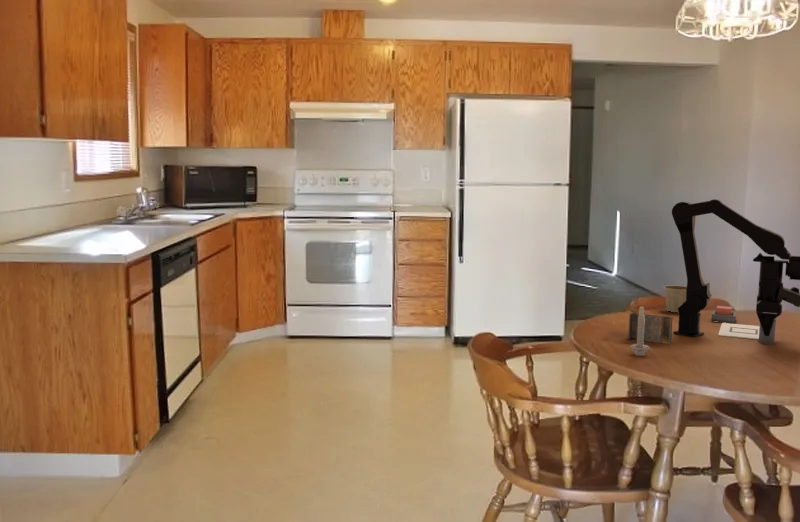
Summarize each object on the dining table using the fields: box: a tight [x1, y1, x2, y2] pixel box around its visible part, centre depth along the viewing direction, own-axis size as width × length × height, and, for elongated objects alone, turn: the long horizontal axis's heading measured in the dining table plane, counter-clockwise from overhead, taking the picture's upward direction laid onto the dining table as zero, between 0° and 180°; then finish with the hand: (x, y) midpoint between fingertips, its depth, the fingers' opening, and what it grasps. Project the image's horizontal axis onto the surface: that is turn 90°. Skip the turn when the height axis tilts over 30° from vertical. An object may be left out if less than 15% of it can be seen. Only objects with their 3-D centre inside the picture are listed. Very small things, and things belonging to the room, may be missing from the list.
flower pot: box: [662, 284, 687, 313], centre depth 245 cm, size 9×9×9 cm
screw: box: [630, 306, 650, 357], centre depth 183 cm, size 13×5×5 cm
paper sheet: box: [717, 323, 760, 341], centre depth 214 cm, size 20×13×1 cm, turn 153°
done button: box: [716, 305, 733, 315], centre depth 229 cm, size 4×4×2 cm
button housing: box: [711, 310, 737, 324], centre depth 230 cm, size 7×7×2 cm
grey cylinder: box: [758, 317, 778, 345], centre depth 199 cm, size 4×4×9 cm
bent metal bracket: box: [628, 307, 674, 345], centre depth 200 cm, size 11×3×10 cm, turn 60°
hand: (766, 332), depth 199 cm, fingers open, 9 cm apart
